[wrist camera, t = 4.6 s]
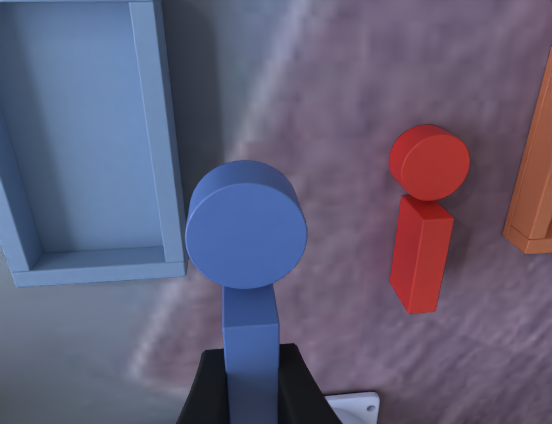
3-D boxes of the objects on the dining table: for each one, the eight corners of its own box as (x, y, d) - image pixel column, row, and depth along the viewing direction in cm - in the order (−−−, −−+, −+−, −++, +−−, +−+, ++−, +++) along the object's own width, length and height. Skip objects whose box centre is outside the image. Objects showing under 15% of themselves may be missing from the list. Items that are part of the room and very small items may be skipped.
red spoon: (429, 279, 23) (452, 311, 20) (373, 283, 22) (391, 316, 20) (458, 122, 19) (490, 140, 17) (392, 125, 19) (416, 143, 16)
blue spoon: (293, 383, 15) (305, 452, 13) (207, 390, 15) (203, 463, 12) (299, 157, 11) (318, 198, 9) (184, 161, 11) (174, 204, 9)
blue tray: (189, 254, 20) (186, 277, 19) (33, 263, 20) (15, 288, 18) (158, -25, 15) (149, -28, 14) (-55, -24, 15) (-92, -27, 13)
